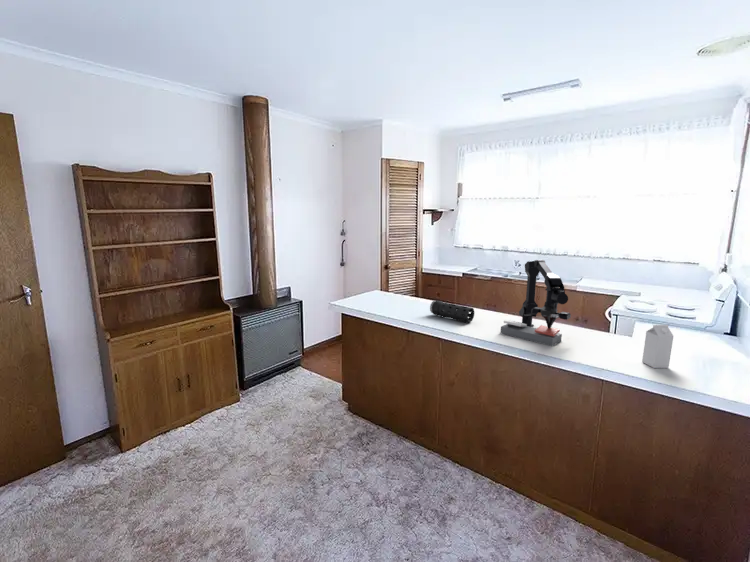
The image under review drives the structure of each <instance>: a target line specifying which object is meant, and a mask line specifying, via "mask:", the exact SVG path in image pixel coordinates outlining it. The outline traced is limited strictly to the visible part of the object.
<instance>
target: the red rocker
mask: <svg viewBox="0 0 750 562" xmlns="http://www.w3.org/2000/svg"><path fill="white" fill-rule="evenodd" d="M560 329H561V328H556V327H552V326H551V328H548V326H547V325H542V324H541V325H539V326H538V327H537V329H535V332H536V333H541V334H545V335H550V336H555V335H556V334H557V333H560Z"/></svg>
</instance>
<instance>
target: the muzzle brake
mask: <svg viewBox="0 0 750 562" xmlns="http://www.w3.org/2000/svg"><path fill="white" fill-rule="evenodd" d="M429 311H430V313H431V314H433V315H435V316H439V317H440V316H443V317H446V318H449V319H452V320H453V319H454V320H455V321H458V320H459V321H458V322H462V321H463V322H462V323H466V322H467V324H471V322H473V320H474V317H475V309H474V307H471V306H464V305H460V304H459V305H458V304H454V303H449V302H445V301H444V302H443V301H442V300H433V301H431V303H430V306H429ZM443 317H442V318H443Z"/></svg>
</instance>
